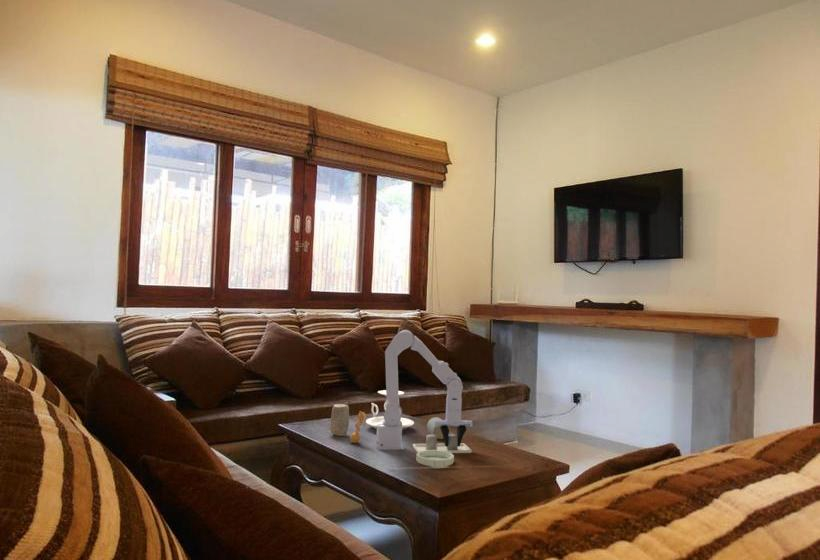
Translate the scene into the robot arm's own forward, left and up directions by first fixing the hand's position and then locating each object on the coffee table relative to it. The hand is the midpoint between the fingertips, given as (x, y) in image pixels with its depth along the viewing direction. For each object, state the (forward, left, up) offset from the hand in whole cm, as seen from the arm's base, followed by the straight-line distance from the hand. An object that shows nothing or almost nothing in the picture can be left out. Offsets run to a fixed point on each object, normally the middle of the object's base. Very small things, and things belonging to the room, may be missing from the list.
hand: (452, 445), depth 213 cm
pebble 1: (-8, 0, -1) cm, 8 cm away
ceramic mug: (+1, +19, -2) cm, 19 cm away
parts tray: (-4, 0, -2) cm, 4 cm away
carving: (-40, +25, -2) cm, 47 cm away
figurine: (-34, +13, -2) cm, 36 cm away
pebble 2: (0, 0, -1) cm, 1 cm away
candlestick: (-19, +36, -2) cm, 41 cm away
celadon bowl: (-10, -14, -2) cm, 17 cm away
